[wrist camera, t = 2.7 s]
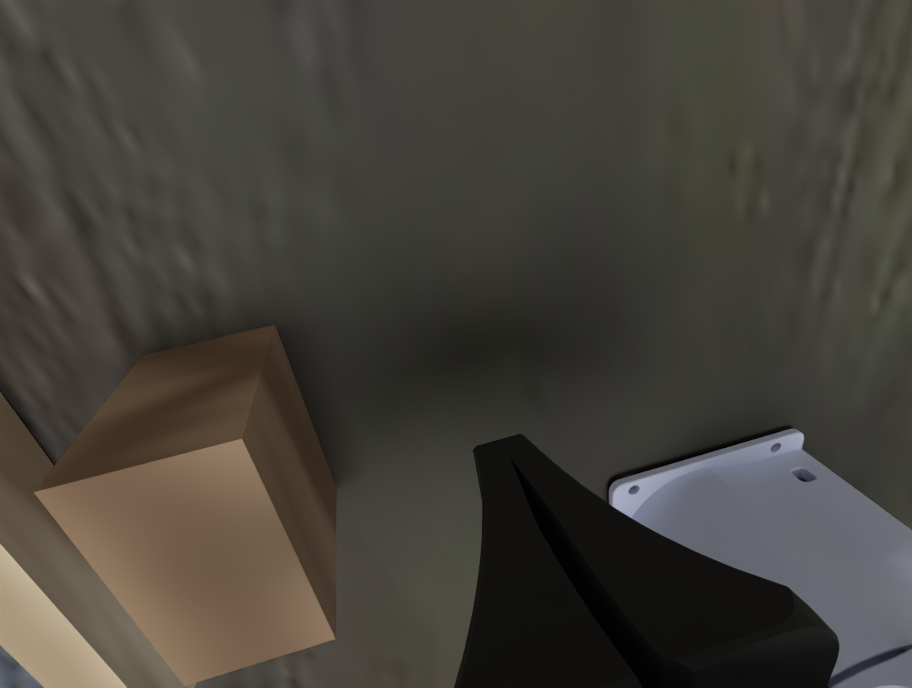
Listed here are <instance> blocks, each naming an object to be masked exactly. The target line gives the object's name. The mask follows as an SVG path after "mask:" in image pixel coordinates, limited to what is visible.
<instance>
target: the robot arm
mask: <svg viewBox="0 0 912 688" xmlns="http://www.w3.org/2000/svg"><path fill="white" fill-rule="evenodd" d="M803 441H804V435H803V433H801V432H800V431H799V430H797V429H788V430H785V431H781V432H778V433H775V434H771V435H768V436H764V437H761V438H758V439H754V440H751V441H747V442H744V443H741V444H737V445H734V446H730V447H727V448H724V449H720V450H717V451H713V452H710V453H707V454H703V455H700V456H696V457H693V458H690V459H686V460H683V461H679V462H676V463H673V464H669V465H666V466H662V467H659V468H656V469H652V470H649V471H645V472H642V473H639V474H635V475H632V476H628V477H625V478H622V479H618V480H616V481H615V482H613V483H612V484H611V486H610V488H609V504H608V503H607V502H605V501H604V500H602V499H601V498H600V497H598V496H597V495H595V494H594V493H592V492H591V491H590V490H588V489H587V488H586V487H584V486H583V485H581V484H580V483H579V482H578V481H576V480H575V479H574V478H572V477H571V476H570V475H569V474H567V473H566V472H565V471H564V470H562V469H561V468H560V467H559V466H557V465H556V464H555V463H554V462H553V461H552V460H550V459H549V458H548V457H547V456H546V455H545V454H543V453H542V452H541V451H540V450H539V449H538V448H537V447H536V446H535V445H534V444H533V443H531V442H530V441H529V440H528V439H527V438H526V437H525V436H524V435H522V434H518V435H514V436H511V437H507V438H504V439H500V440H496V441H493V442H489V443H486V444H482V445H478V446H476V447H475V449H474V450H473V453H474V459H475V464H476V470H477V475H478V481H479V486H480V492H481V497H482V542H481V555H480V565H479V574H478V581H477V588H476V595H475V601H474V607H473V612H472V617H471V622H470V626H469V631H468V636H467V640H466V645H465V649H464V653H463V657H462V661H461V665H460V668H459V672H458V676H457V679H456V683H455V686H454V688H912V530H911V529H909V528H908V527H907V526H905V525H904V524H903V523H901V522H900V521H899V520H897V519H896V518H895V517H893V516H892V515H890V514H889V513H888V512H886V511H885V510H884V509H882V508H881V507H880V506H878V505H877V504H876V503H874V502H873V501H871V500H870V499H869V498H867V497H866V496H865V495H863V494H862V493H861V492H859V491H858V490H857V489H855V488H854V487H853V486H851V485H850V484H848V483H847V482H846V481H844V480H843V479H842V478H840V477H839V476H838V475H836V474H835V473H834V472H832V471H831V470H829V469H828V468H827V467H825V466H824V465H823V464H821V463H820V462H819V461H817V460H816V459H815V458H813V457H812V456H811V455H809V454H808V453H806V452H805V451H804V450H802V445H803Z"/></svg>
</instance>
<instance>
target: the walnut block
mask: <svg viewBox="0 0 912 688" xmlns="http://www.w3.org/2000/svg"><path fill="white" fill-rule="evenodd" d="M34 493H35V495H36V496H37V497H38V498H39V500H40V501H41V502H42V504H43V505H44V506H45V507H46V509H47V510H48V511H49V513H50V514H51V515H52V516H53V518H54V519H55V520H56V522H57V523H58V524H59V525H60V527H61V528H62V529H63V531H64V532H65V533H66V534H67V536H68V537H69V538H70V540H71V541H72V542H73V544H74V545H75V546H76V547H77V549H78V550H79V551H80V553H81V554H82V555H83V556H84V558H85V559H86V560H87V562H88V563H89V564H90V565H91V567H92V568H93V569H94V571H95V572H96V573H97V574H98V576H99V577H100V578H101V580H102V581H103V582H104V583H105V585H106V586H107V587H108V589H109V590H110V591H111V592H112V594H113V595H114V596H115V598H116V599H117V600H118V601H119V603H120V604H121V605H122V607H123V608H124V609H125V610H126V612H127V613H128V614H129V616H130V617H131V618H132V619H133V621H134V622H135V623H136V625H137V626H138V627H139V628H140V630H141V631H142V632H143V634H144V635H145V636H146V637H147V639H148V640H149V641H150V643H151V644H152V645H153V646H154V648H155V649H156V650H157V652H158V653H159V654H160V655H161V657H162V658H163V659H164V661H165V662H166V663H167V664H168V666H169V667H170V668H171V670H172V671H173V672H174V673H175V675H176V676H177V677H178V679H179V680H180V681H181V683H182V684H183V685H184V686H187V685H190V684H193V683H196V682H199V681H203V680H206V679H209V678H212V677H215V676H218V675H222V674H225V673H228V672H231V671H234V670H238V669H241V668H244V667H247V666H250V665H254V664H257V663H260V662H263V661H266V660H270V659H273V658H276V657H279V656H282V655H286V654H289V653H292V652H295V651H298V650H302V649H305V648H308V647H311V646H314V645H318V644H321V643H324V642H327V641H330V640H334V639H336V486H335V483H334V481H333V478H332V475H331V473H330V470H329V467H328V465H327V462H326V459H325V456H324V454H323V451H322V448H321V446H320V443H319V440H318V438H317V435H316V432H315V430H314V427H313V424H312V422H311V419H310V416H309V414H308V411H307V408H306V406H305V403H304V400H303V398H302V395H301V392H300V390H299V387H298V384H297V382H296V379H295V376H294V374H293V371H292V368H291V366H290V363H289V360H288V358H287V355H286V352H285V350H284V347H283V344H282V342H281V339H280V336H279V334H278V331H277V328H276V326H275V325H271V326H266V327H262V328H258V329H253V330H249V331H245V332H240V333H236V334H232V335H228V336H223V337H219V338H215V339H210V340H206V341H202V342H197V343H193V344H189V345H184V346H180V347H176V348H172V349H167V350H163V351H159V352H154V353H150V354H146V355H142V356H141V357H140V358H139V360H138V361H137V362H136V363H135V365H134V366H133V367H132V368H131V370H130V371H129V372H128V374H127V375H126V376H125V377H124V379H123V380H122V381H121V382H120V384H119V385H118V386H117V387H116V389H115V390H114V391H113V393H112V394H111V395H110V396H109V398H108V399H107V400H106V401H105V403H104V404H103V405H102V406H101V408H100V409H99V410H98V411H97V413H96V414H95V415H94V417H93V418H92V419H91V420H90V422H89V423H88V424H87V425H86V427H85V428H84V429H83V430H82V432H81V433H80V434H79V436H78V437H77V438H76V439H75V441H74V442H73V443H72V444H71V446H70V447H69V448H68V449H67V451H66V452H65V453H64V455H63V456H62V457H61V458H60V460H59V461H58V462H57V463H56V465H55V466H54V467H53V468H52V470H51V471H50V472H49V474H48V475H47V476H46V477H45V479H44V480H43V481H42V482H41V484H40V485H39V486H38V487H37V489H36V490H35V491H34Z"/></svg>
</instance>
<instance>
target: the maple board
mask: <svg viewBox="0 0 912 688" xmlns="http://www.w3.org/2000/svg"><path fill="white" fill-rule="evenodd" d="M53 467H54V465H53V463H52V462H51V461H50V459H49V458H48V457H47V455H46V454H45V452H44V451H43V450H42V448H41V447H40V446H39V444H38V443H37V441H36V440H35V439H34V437H33V436H32V435H31V433H30V432H29V430H28V429H27V428H26V426H25V425H24V424H23V422H22V421H21V419H20V418H19V417H18V415H17V414H16V413H15V411H14V410H13V408H12V407H11V406H10V404H9V403H8V401H7V400H6V399H5V397H4V396H3V395H2V393H1V392H0V645H1V646H2V647H3V648H4V649H5V650H6V651H7V652H8V653H9V654H10V655H11V656H12V657H13V658H14V659H15V660H16V661H17V662H18V663H19V664H21V665H22V666H23V667H24V668H25V669H26V670H27V671H28V672H29V673H30V674H31V675H32V676H33V677H34V678H35V679H36V680H37V681H38V682H39V683H40V684H41V685H42V686H43V687H44V688H195V684H196V683H193V684H190V685H187V686H184V685H183V684H182V683H181V681H180V680H179V679H178V677H177V676H176V675H175V673H174V672H173V671H172V670H171V668H170V667H169V666H168V664H167V663H166V662H165V661H164V659H163V658H162V657H161V655H160V654H159V653H158V652H157V650H156V649H155V648H154V646H153V645H152V644H151V643H150V641H149V640H148V639H147V637H146V636H145V635H144V634H143V632H142V631H141V630H140V628H139V627H138V626H137V625H136V623H135V622H134V621H133V619H132V618H131V617H130V616H129V614H128V613H127V612H126V610H125V609H124V608H123V607H122V605H121V604H120V603H119V601H118V600H117V599H116V598H115V596H114V595H113V594H112V592H111V591H110V590H109V589H108V587H107V586H106V585H105V583H104V582H103V581H102V580H101V578H100V577H99V576H98V574H97V573H96V572H95V571H94V569H93V568H92V567H91V565H90V564H89V563H88V562H87V560H86V559H85V558H84V556H83V555H82V554H81V553H80V551H79V550H78V549H77V547H76V546H75V545H74V544H73V542H72V541H71V540H70V538H69V537H68V536H67V534H66V533H65V532H64V531H63V529H62V528H61V527H60V525H59V524H58V523H57V522H56V520H55V519H54V518H53V516H52V515H51V514H50V513H49V511H48V510H47V509H46V507H45V506H44V505H43V504H42V502H41V501H40V500H39V498H38V497H37V496H36V495H35V493H34V491H35V490H36V489H37V487H38V486H39V485H40V484H41V482H42V481H43V480H44V479H45V477H46V476H47V475H48V474H49V472H50V471H51V470H52V468H53Z"/></svg>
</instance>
